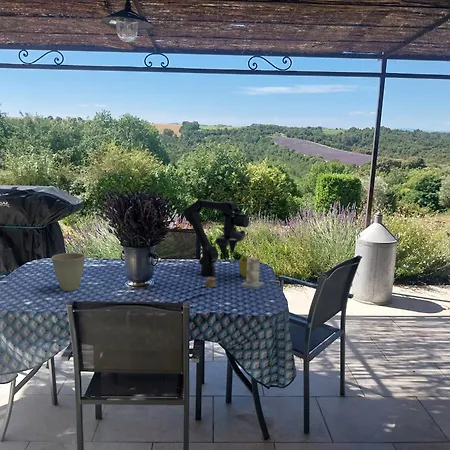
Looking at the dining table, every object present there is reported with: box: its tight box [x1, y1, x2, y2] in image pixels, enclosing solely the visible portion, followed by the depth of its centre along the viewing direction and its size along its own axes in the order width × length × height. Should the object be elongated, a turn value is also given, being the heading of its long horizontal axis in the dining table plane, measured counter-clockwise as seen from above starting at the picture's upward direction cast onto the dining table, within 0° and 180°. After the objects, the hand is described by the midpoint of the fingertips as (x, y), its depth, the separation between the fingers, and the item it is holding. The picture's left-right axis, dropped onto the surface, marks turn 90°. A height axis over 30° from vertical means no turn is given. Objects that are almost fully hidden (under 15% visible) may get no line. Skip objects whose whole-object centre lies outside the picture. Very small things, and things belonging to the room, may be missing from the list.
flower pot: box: [238, 257, 248, 278], centre depth 246 cm, size 9×9×9 cm
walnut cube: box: [205, 276, 217, 288], centre depth 227 cm, size 4×4×4 cm
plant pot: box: [51, 252, 86, 292], centre depth 215 cm, size 15×15×16 cm
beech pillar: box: [245, 256, 261, 285], centre depth 227 cm, size 4×4×13 cm
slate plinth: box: [240, 280, 265, 290], centre depth 228 cm, size 9×9×2 cm
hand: (228, 254), depth 239 cm, fingers open, 9 cm apart
